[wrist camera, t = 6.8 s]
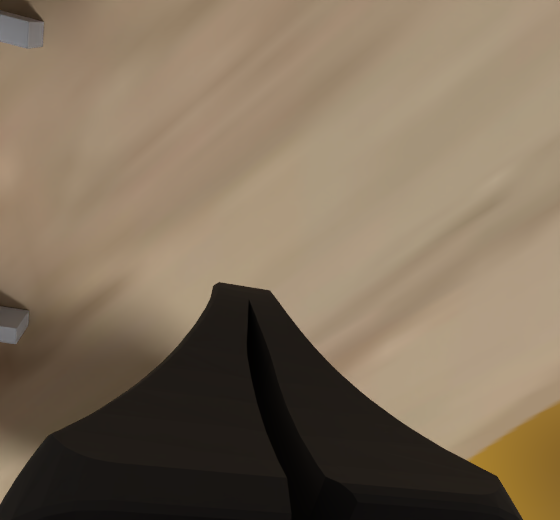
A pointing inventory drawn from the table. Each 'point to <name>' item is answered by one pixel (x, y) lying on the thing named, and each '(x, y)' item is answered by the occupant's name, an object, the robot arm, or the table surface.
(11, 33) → the tray
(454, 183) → the table surface
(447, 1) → the table surface
